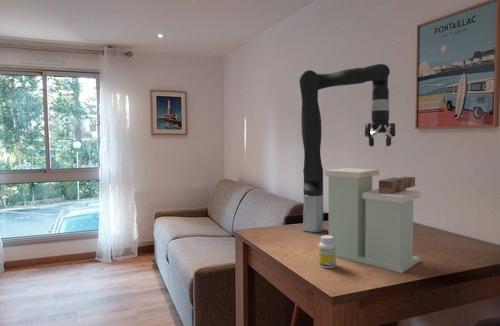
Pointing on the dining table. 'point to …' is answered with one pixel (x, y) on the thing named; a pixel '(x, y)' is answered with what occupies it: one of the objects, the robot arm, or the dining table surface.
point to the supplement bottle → (327, 252)
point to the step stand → (370, 220)
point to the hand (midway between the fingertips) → (380, 146)
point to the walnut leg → (395, 185)
